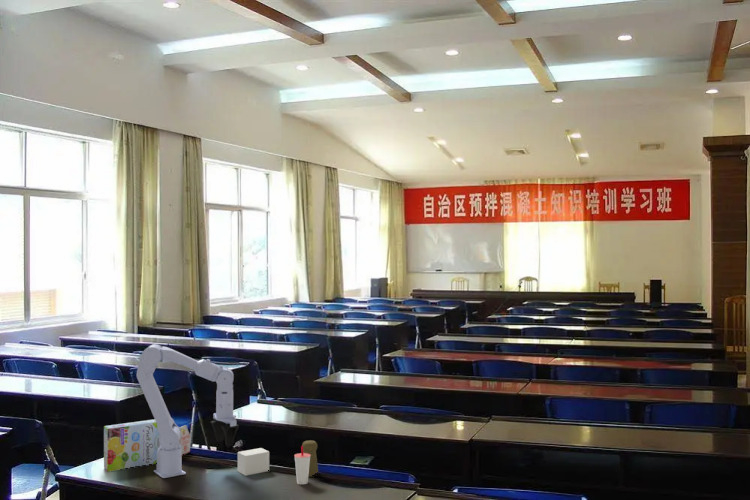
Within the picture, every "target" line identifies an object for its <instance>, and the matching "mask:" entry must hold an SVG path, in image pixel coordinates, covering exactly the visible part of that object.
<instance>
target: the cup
mask: <svg viewBox="0 0 750 500" xmlns="http://www.w3.org/2000/svg"><path fill="white" fill-rule="evenodd" d="M300 449H301V450H300V451H301V452H300V453H295V454H294V455H293V456H294V464H295V474H296V475H295V476H296V483H297V484H298V485H307V484H308V482H309V476H308V475H309V465H310V456H311V455H310V454H308V453H304V451H303V446H302V445H301V446H300Z"/></svg>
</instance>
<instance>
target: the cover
mask: <svg viewBox="0 0 750 500" xmlns="http://www.w3.org/2000/svg"><path fill="white" fill-rule="evenodd" d="M268 470H269V471H270V451H269V450H266V449H264V448H263V447H259V448H257V447H256V448H253V449H247V450H241V451H238V452H237V472H238V473H240V474H241V475H242V476H251V475H255V474H256V475H257V474H260V473H265V472H269V471H268Z"/></svg>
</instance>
